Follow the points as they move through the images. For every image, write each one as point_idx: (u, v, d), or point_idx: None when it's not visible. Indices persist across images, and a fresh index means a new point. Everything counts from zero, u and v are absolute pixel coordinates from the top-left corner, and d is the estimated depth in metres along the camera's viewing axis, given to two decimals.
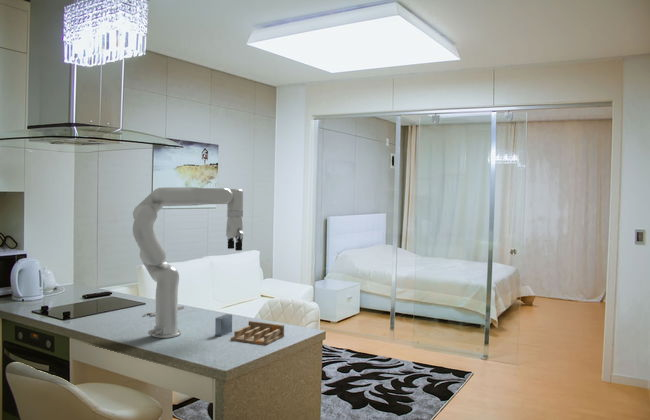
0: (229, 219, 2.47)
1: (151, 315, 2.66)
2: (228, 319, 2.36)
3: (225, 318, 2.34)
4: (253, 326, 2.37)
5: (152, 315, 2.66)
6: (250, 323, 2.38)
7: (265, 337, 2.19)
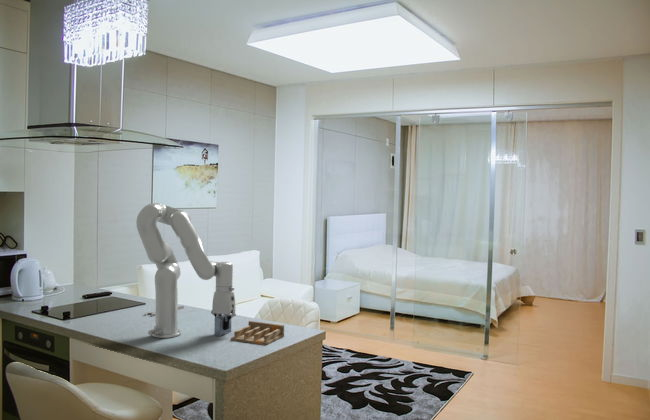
0: None
1: (152, 315, 2.67)
2: None
3: (224, 318, 2.34)
4: (253, 326, 2.37)
5: (153, 315, 2.67)
6: (250, 323, 2.38)
7: (265, 337, 2.19)
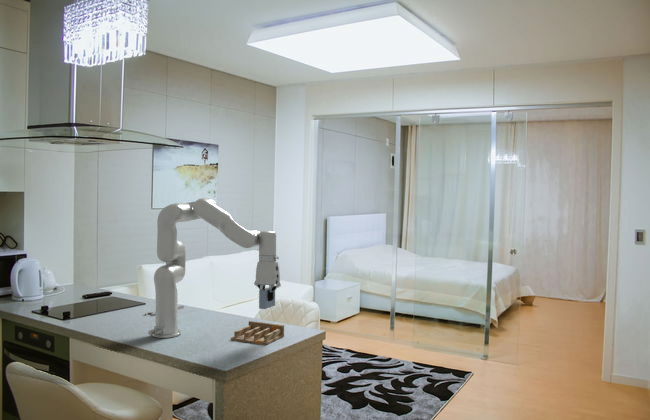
0: None
1: (152, 314, 2.68)
2: None
3: None
4: (253, 326, 2.37)
5: (153, 314, 2.68)
6: (250, 323, 2.38)
7: (265, 337, 2.19)
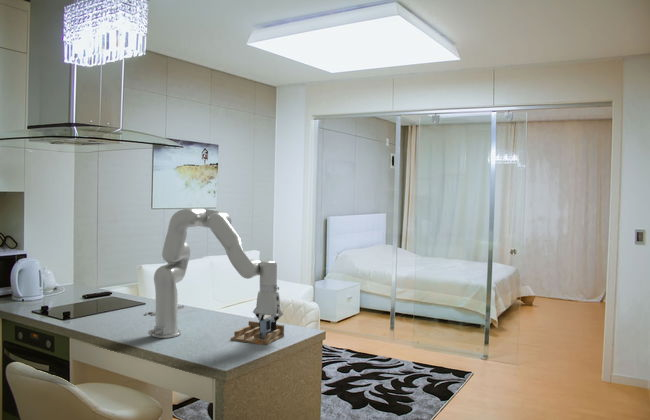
0: None
1: (152, 314, 2.68)
2: None
3: (270, 321, 2.25)
4: (253, 326, 2.37)
5: (153, 314, 2.69)
6: (250, 323, 2.38)
7: (265, 337, 2.19)
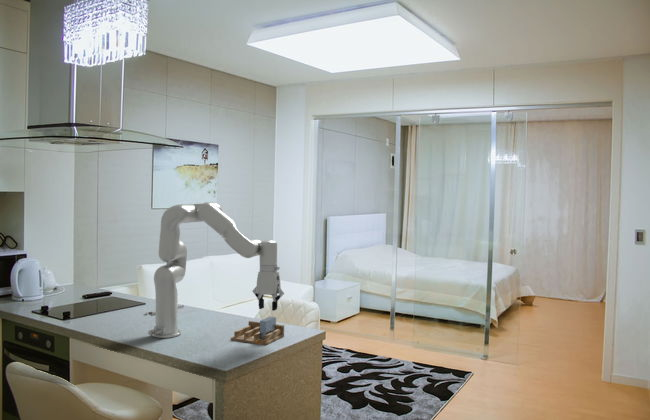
0: None
1: (153, 314, 2.69)
2: (273, 322, 2.28)
3: (270, 321, 2.25)
4: (253, 326, 2.37)
5: (154, 314, 2.69)
6: (250, 323, 2.38)
7: (265, 337, 2.19)
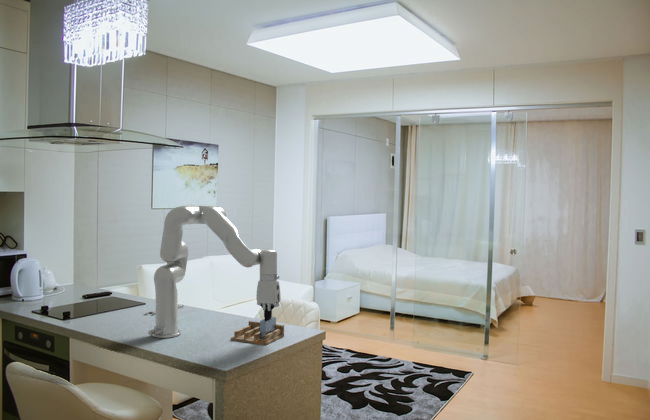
0: None
1: (153, 314, 2.69)
2: (273, 322, 2.28)
3: (270, 321, 2.25)
4: (253, 326, 2.37)
5: (154, 314, 2.70)
6: (250, 323, 2.38)
7: (265, 337, 2.19)
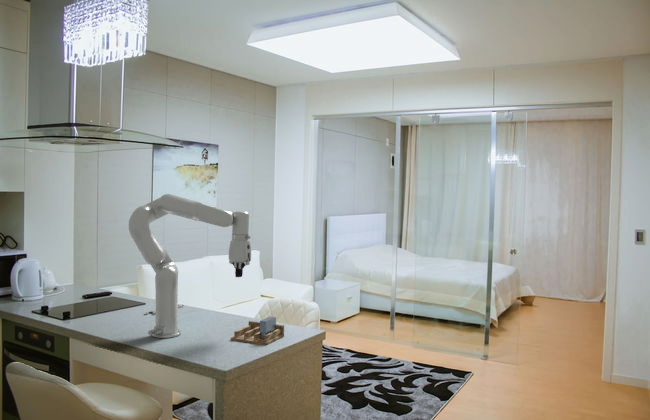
0: None
1: (153, 313, 2.70)
2: (273, 322, 2.28)
3: (270, 321, 2.25)
4: (253, 326, 2.37)
5: (154, 313, 2.70)
6: (250, 323, 2.38)
7: (265, 337, 2.19)
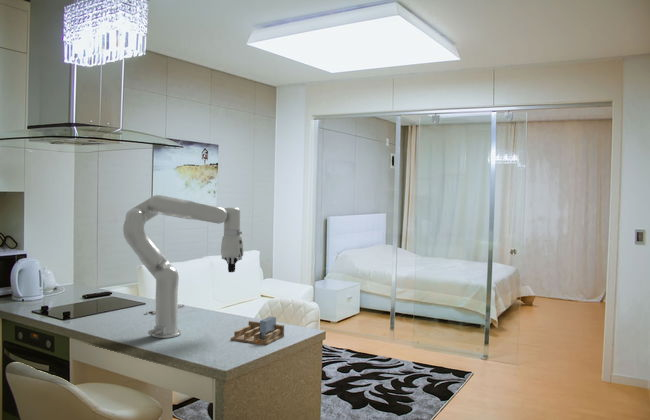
0: None
1: (153, 313, 2.70)
2: (273, 322, 2.28)
3: (270, 321, 2.25)
4: (253, 326, 2.37)
5: (154, 313, 2.71)
6: (250, 323, 2.38)
7: (265, 337, 2.19)
